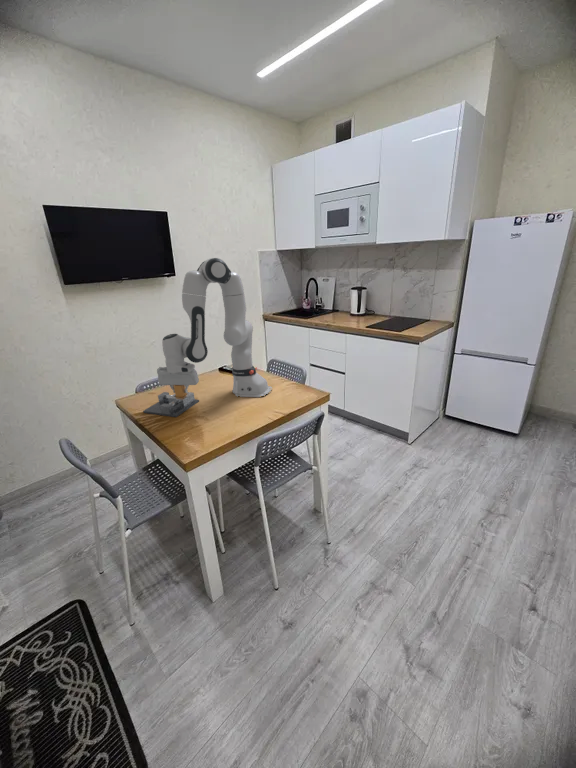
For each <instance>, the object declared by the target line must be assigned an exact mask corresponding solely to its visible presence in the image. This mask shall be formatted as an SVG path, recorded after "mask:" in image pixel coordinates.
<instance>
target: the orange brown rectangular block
mask: <svg viewBox="0 0 576 768" xmlns="http://www.w3.org/2000/svg"><path fill="white" fill-rule="evenodd" d="M185 388H186V387H185V386H184V385H174V390H175V393H174V394H175V395H176V397H180V398H183V397H184V396H186V395H187V393H184V391H183V390H184V389H185Z"/></svg>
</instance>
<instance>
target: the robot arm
mask: <svg viewBox="0 0 576 768" xmlns="http://www.w3.org/2000/svg"><path fill="white" fill-rule="evenodd" d="M184 275H185V276H184V279H183V284H182V289H181V290H182V292H181V300H182V301H181V302H182V308H183V311H185V313H186V314H187V316H188V318H189V320H190V337H185V336H183V335H179V334H178V333H170V334H167V335H165V336H164V337H163V338H162V340H161V341H162V351H163V352H162V353H163V355H164V358H165V360H164V362H165V366H163V367H162V366H159V368H156V369H157V370H156V374H157V380H158V384H159V386H169V387H170V389H171V390H172V392H173V394H175V390H174V385H184V386H185V389H184V390H183V391H184V393H187V392H189V390H188V389H189V386H196V385H198V384H199V381H200V378H199V376H198V375H199V374H198V372H197V370H196V369H195V368H196V366H195V364H196V363H201V362H203V361H204V360H206V358H207V356H208V350H209V349H208V347H207V345H206V341H205V336H206V334H205V333H206V331H205V330H206V329H205V328H206V318H205V317H206V316H205V315H206V313H205V312H206V301H207V300H206V299H207V297H206V296H207V288H208V286H209V284H211V283H212V284H216V283H217V284H218V285H219V286H220V290H221V294H222V301H223V307H224V331H223V339H224V341H225V342H226V344H227V345H229V346H232V347H231V348H232V349H231V353H230V356H231V366H232V367H231V371H232V377H233V380H232V381H233V384H232V390H231V391H232V392H231V393H233V394H234V395H235V397H236V396H237V398H238V396H240V397H239V398H261V397H260V396H264V395H266V394H268V393H269V392H270V391H271V389H272V390H273V388H272V386H271V385H270V386H269V384H268V381H267V379H266V378H264V377H263V376H262V375H261V374H259V373H258V372H257V370H258V366H257V367H256V366H255V367H254V365H253V356H252V350H253V349H252V346H253V331H254V330H253V329H254V327H253V324H252V323H251V322H250V321H249V320H247V319H246V312H247V305H246V297H245V291H244V285H243V282H242V277H241V276H240V274H239V273H238V272H235V271H231V269H230V268H229V266H228V265H227V264H226V262H225V261H224V260H223V259H221V258H219V257H212V258H207V259H206V260H204V261H203V262H201V264H200V265H199V266H198V268H197V270H189V271H187V272H186V274H184ZM186 358H187V359H188V360H189V361H190V362H188V361H185V359H186ZM191 362H192V363H191ZM193 363H195V364H193ZM270 388H271V389H270ZM271 392H272V391H271ZM271 392H270V393H271ZM270 393H269V394H270ZM269 394H268V395H269ZM266 396H267V395H266ZM264 397H265V396H264Z"/></svg>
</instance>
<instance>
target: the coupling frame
mask: <svg viewBox="0 0 576 768" xmlns="http://www.w3.org/2000/svg"><path fill="white" fill-rule="evenodd" d="M157 399H158V401H157V402H156V403H154V404H153V405H151V406H149V407H147V408H145V409H144V410H143V411H142V413H143V412H144V414H149V415H158V416H164V417H165V416H166V417H173V418H178V417H179V416H180V415H182V414H183V413H184V412H186V411H188V410H189V409H191V408H192V407H193V406H195V405H196V404H197V403H199V402H200V399H197V398H196V397H195V393H194V392H191V391H188V392H187V395H186V396H184V397H183V398H180V397H176V395H175V393H173V394H170V393H169V391H168V392H167V391H163V392H161V393H160V394H158V395H157Z"/></svg>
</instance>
